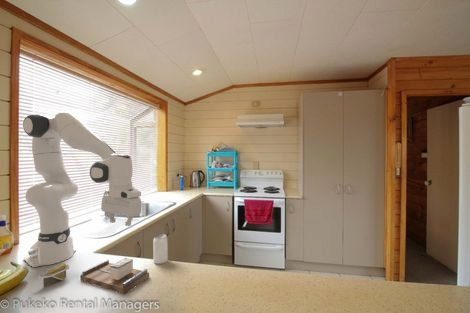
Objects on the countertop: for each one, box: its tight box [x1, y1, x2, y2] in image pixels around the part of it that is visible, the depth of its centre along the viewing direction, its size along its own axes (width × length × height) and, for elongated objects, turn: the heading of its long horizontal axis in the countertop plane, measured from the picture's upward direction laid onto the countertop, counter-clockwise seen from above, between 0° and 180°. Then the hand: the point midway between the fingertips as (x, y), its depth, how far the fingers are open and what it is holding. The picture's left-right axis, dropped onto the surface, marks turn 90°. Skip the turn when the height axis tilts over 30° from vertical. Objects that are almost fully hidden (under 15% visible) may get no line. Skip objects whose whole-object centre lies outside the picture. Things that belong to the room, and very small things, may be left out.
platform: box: [39, 262, 70, 288], centre depth 89 cm, size 12×18×7 cm, turn 157°
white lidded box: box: [111, 257, 134, 280], centre depth 89 cm, size 4×7×5 cm, turn 157°
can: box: [152, 233, 169, 265], centre depth 105 cm, size 6×6×12 cm
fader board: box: [80, 259, 150, 295], centre depth 90 cm, size 25×12×4 cm, turn 67°
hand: (120, 223), depth 93 cm, fingers open, 8 cm apart
